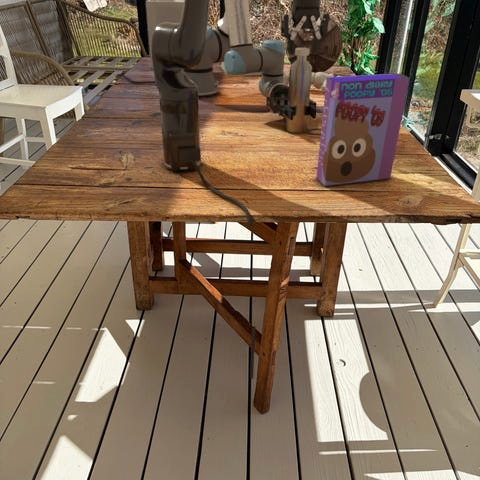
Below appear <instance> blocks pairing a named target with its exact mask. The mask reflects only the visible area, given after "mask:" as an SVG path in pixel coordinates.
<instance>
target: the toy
mask: <svg viewBox="0 0 480 480" xmlns="http://www.w3.org/2000/svg"><path fill="white" fill-rule="evenodd" d="M289 73H290V71H286V72H285V73H283V83H284V84H286V85H287V86H288V87H289ZM341 76H342V75H336V77H341ZM327 77H335V74H334V72H333V71H329V72H328V73H327V72H317V73H314V72H313V73H312V77H311V86H313V87H314V88H315V89H318V90H320V92H321V93H325V90H326V80H327Z"/></svg>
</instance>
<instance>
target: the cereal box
mask: <svg viewBox="0 0 480 480" xmlns="http://www.w3.org/2000/svg"><path fill="white" fill-rule="evenodd" d="M340 76H341V77H337V76H334V77H327V80H326V90H325V92H324V100H323V108H322V109H323V110H322V120H321V129H320V130H321V132H320V139H319V140H320V141H319V147H318V148H319V149H318V156H317V157H318V158H317V167H316V176H315V178H316V180H317V181H318V182H319V183H320V184H321V185H322V186H324V187H333V186H340V185H349V184H359V183H367V182H376V181H383V180H390V179H391V178H392V172H393V166H394V163H395V162H394V161H395V156H396V150H397V145H398V140H399V135H400V130H401V125H402V119H403V114H404V108H405V105H406V104H405V103H406V99H407V93H408V88H409V83H410V77H409V76H407V75H405V74H402V73H381V74H380V73H379V74H378V73H377V74H360V75H344V76H343V75H340Z"/></svg>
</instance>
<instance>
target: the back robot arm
mask: <svg viewBox="0 0 480 480" xmlns="http://www.w3.org/2000/svg"><path fill="white" fill-rule="evenodd" d="M223 2H224V10H225V11H224V15H223V17H222V18H219V20H218V21H217V24H216V29H213V27H212V26H210V25H207V34H206V42H205V49H204V53H203V56H202V59H201V61H200V63H199V64H198V65H197V67H195V68H194V69H183V70H184V72H185V74H186V75H187V76H188V77H189V78H190V79H191V80H192V81H194V82H195V83H196V84H197V86H198V99H204V98H211V97H214V96H217V95H218V94H219V87H218V85H220V81H219V80H216V78H215V75H214V64H217V63H221V62H224V66H225V69H226V71H227V72H228V73H229V74H230V75H244V74H249V73H255V72H262V75H261V77H260V79H259V82H258V91H259V92H260V93H261V95H262V96H263V97H264V98H266V101H265V105H266V106H267V107H269V109H270V110H271V112H272V113H273V114H277V113H278V116H279V117H283V116H285V117H286V118H287V117H288V118H289V119H290V120H293V112H294V111H293V110H292V109H291V108H290V107H288V90H289V85H288V86H287V85H286V84H284V83H283V76H284V69H285V58H286V50H285V41H283V40H280V39H266V40H264V41H262V45H261V47H257V48H256V47H255V48H254V44H253V34H252V25H251V16H250V15H251V14H250V13H251V9H252V8H253V4H254V0H223ZM118 77H123V78H124V79H126V80H128V81H130V82H131V83H133V84H156V83H155V80H146V81H145V80H144V81H137V80H133V79H131V78H130V77H128V76H126V75H124V74H123V73H117V74H116V75H115V78H118ZM317 110H318V109H317V101H314V100H312V99H311V98H310V100H309V112H308V117H311V118H312V119H313V120H316V119H317V113H318V112H317Z"/></svg>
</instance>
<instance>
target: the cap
mask: <svg viewBox="0 0 480 480" xmlns="http://www.w3.org/2000/svg"><path fill="white" fill-rule="evenodd" d="M295 55H298V56H308V55H309V48H296V49H295Z"/></svg>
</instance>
